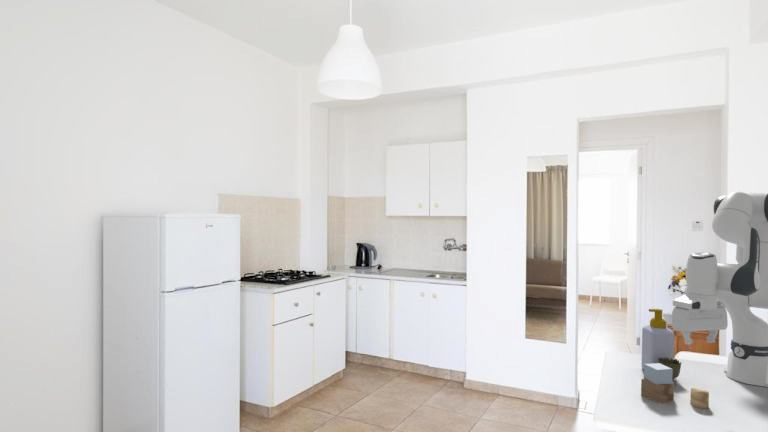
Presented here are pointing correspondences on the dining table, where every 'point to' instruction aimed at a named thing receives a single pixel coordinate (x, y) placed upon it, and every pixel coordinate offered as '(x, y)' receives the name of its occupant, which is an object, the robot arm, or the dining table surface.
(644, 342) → the soap bottle
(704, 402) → the beech cylinder
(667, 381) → the tower top block
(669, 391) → the tower base
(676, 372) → the cup
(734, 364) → the robot arm
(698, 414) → the dining table surface
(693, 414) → the dining table surface
